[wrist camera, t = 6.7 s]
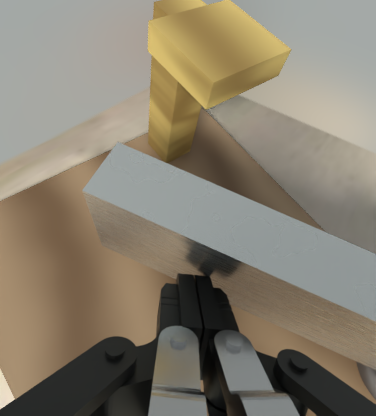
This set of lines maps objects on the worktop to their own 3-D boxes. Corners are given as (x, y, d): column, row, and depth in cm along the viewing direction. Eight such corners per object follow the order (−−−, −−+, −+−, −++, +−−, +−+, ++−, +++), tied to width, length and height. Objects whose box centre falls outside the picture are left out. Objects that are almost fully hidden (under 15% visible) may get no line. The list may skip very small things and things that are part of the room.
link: (464, 341, 16) (624, 336, 11) (475, 440, 14) (687, 497, 8) (133, 194, 17) (130, 124, 12) (91, 263, 15) (64, 214, 9)
